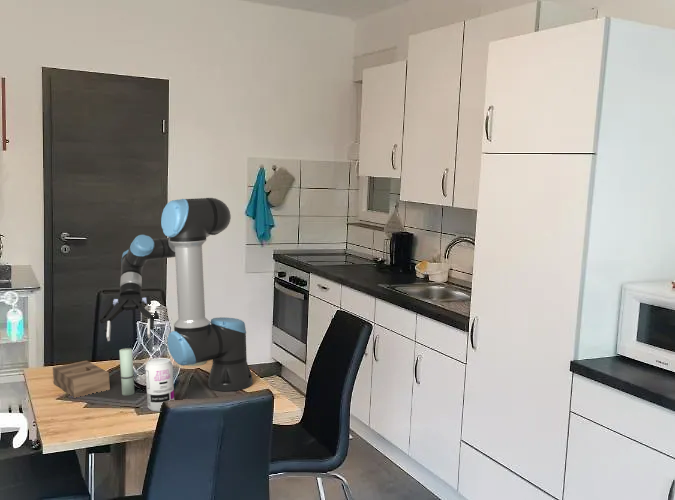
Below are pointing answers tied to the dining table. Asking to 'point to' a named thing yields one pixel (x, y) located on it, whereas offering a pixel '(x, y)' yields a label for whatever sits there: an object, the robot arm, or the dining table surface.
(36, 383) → the dining table surface
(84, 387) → the socket block
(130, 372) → the peg
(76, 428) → the dining table surface
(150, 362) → the supplement can
